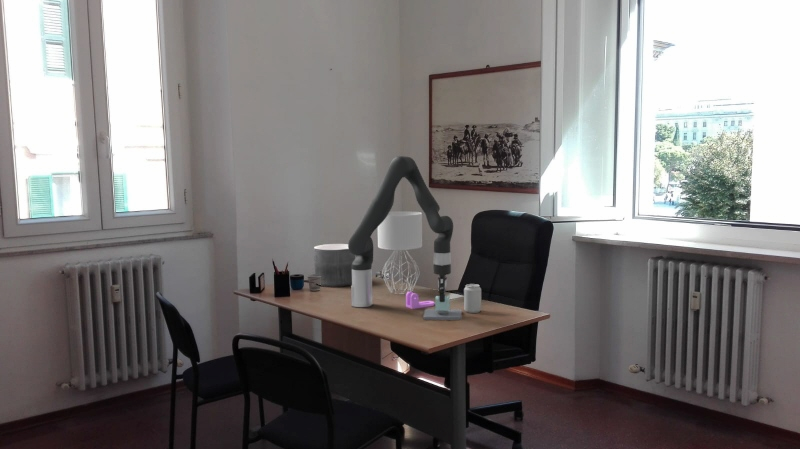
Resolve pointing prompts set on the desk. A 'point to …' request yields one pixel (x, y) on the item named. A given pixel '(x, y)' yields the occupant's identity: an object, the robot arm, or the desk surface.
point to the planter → (334, 264)
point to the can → (472, 298)
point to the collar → (442, 304)
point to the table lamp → (400, 239)
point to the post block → (442, 314)
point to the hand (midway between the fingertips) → (442, 299)
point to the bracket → (416, 301)
